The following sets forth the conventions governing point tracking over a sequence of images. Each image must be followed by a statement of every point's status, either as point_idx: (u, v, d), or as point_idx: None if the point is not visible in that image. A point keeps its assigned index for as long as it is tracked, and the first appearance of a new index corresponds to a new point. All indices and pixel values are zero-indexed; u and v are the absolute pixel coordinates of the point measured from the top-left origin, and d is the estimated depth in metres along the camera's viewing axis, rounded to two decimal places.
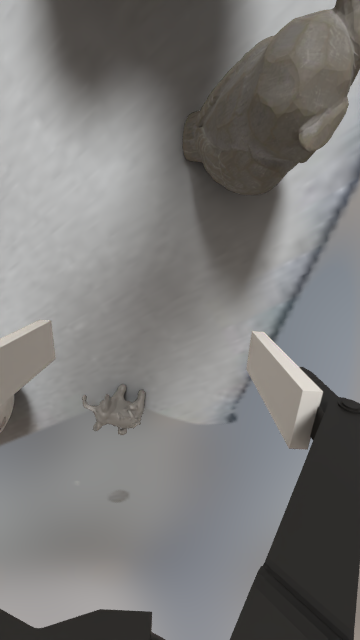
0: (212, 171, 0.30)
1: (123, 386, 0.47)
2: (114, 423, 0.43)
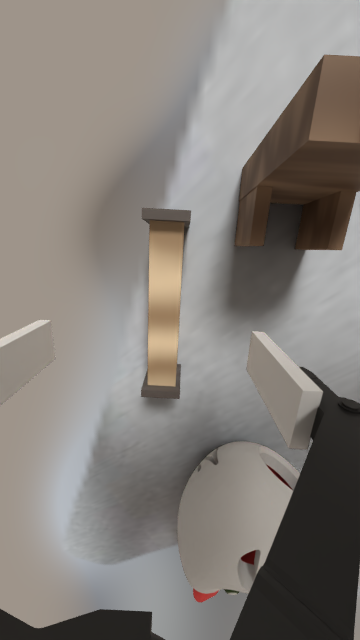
0: None
1: None
2: None
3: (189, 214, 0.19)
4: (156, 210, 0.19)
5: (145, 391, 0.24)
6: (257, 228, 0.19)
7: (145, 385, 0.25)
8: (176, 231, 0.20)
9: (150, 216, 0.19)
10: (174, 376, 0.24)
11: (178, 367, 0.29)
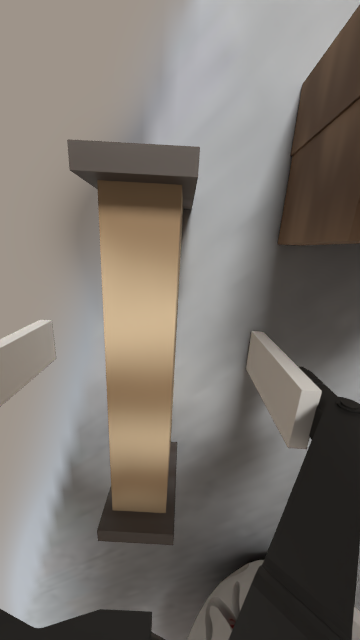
0: None
1: None
2: None
3: (196, 158, 0.07)
4: (107, 147, 0.07)
5: (105, 532, 0.12)
6: None
7: (108, 512, 0.13)
8: (163, 207, 0.08)
9: (92, 164, 0.07)
10: (163, 497, 0.13)
11: (172, 450, 0.17)
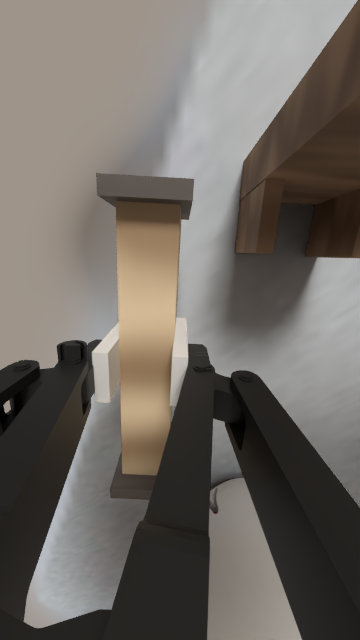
0: None
1: None
2: None
3: (191, 187, 0.10)
4: (125, 178, 0.09)
5: (117, 489, 0.14)
6: (265, 231, 0.15)
7: (118, 475, 0.15)
8: (166, 221, 0.11)
9: (114, 190, 0.10)
10: None
11: None
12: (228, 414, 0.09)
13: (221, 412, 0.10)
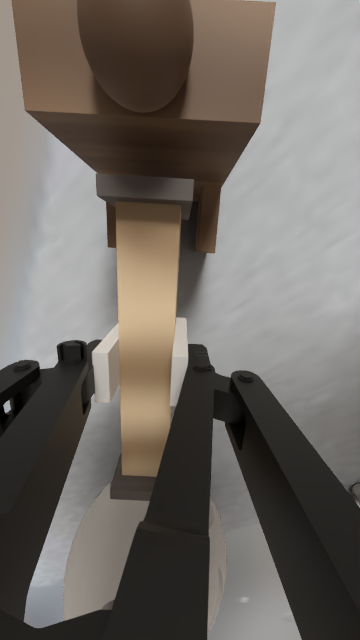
0: None
1: None
2: None
3: (191, 187, 0.09)
4: (125, 179, 0.09)
5: (117, 491, 0.14)
6: (113, 228, 0.16)
7: (118, 476, 0.15)
8: (166, 221, 0.11)
9: (113, 191, 0.10)
10: None
11: None
12: (228, 413, 0.09)
13: (220, 412, 0.10)
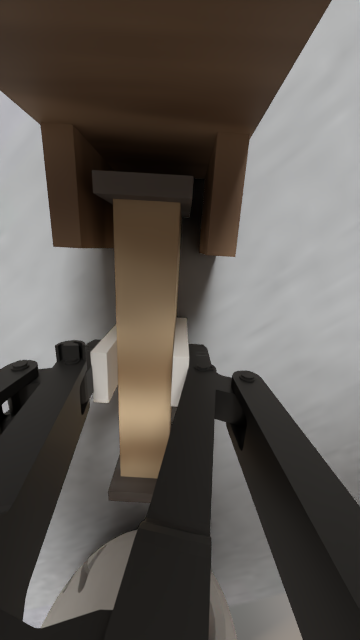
0: None
1: None
2: None
3: (190, 184, 0.09)
4: (122, 175, 0.09)
5: (115, 492, 0.14)
6: (61, 213, 0.09)
7: (116, 477, 0.15)
8: (165, 220, 0.10)
9: (110, 188, 0.09)
10: None
11: None
12: (229, 414, 0.09)
13: (222, 412, 0.10)
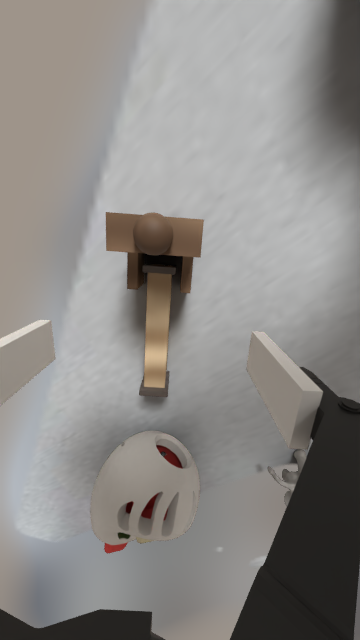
0: None
1: (304, 452, 0.42)
2: None
3: (174, 270, 0.28)
4: (152, 267, 0.28)
5: (142, 391, 0.32)
6: (131, 278, 0.28)
7: (142, 387, 0.33)
8: (166, 279, 0.29)
9: (148, 270, 0.28)
10: (164, 380, 0.33)
11: (167, 373, 0.37)
12: None
13: None
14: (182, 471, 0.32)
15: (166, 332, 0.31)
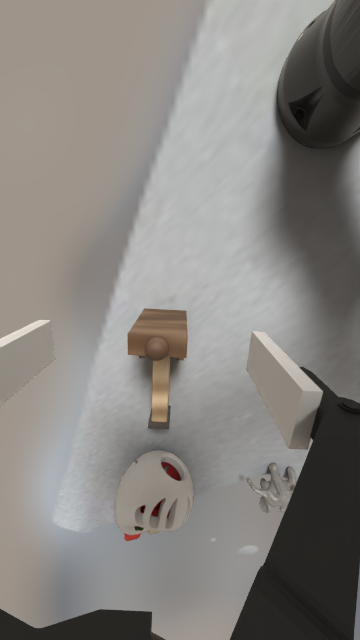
0: None
1: (276, 466, 0.53)
2: (282, 505, 0.49)
3: None
4: None
5: (150, 425, 0.45)
6: None
7: (150, 421, 0.45)
8: None
9: None
10: (166, 416, 0.45)
11: (168, 408, 0.50)
12: None
13: None
14: (180, 483, 0.44)
15: (167, 384, 0.43)
